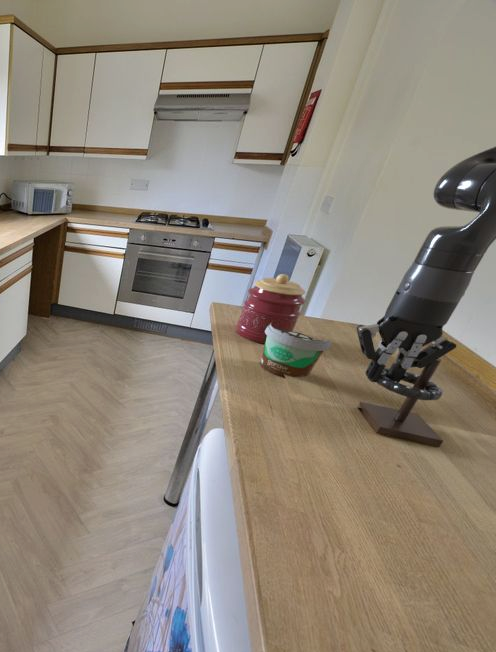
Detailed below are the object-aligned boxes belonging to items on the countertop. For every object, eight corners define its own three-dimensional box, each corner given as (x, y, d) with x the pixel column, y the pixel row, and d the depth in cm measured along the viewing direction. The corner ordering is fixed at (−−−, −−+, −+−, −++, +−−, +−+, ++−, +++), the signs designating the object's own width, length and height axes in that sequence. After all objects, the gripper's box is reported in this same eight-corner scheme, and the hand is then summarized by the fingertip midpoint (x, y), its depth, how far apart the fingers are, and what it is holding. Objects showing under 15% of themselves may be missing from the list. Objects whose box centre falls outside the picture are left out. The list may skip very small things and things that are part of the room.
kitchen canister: (263, 348, 106) (288, 282, 98) (224, 328, 117) (243, 268, 109) (300, 343, 110) (327, 280, 102) (259, 324, 121) (280, 266, 113)
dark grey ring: (422, 382, 77) (427, 374, 76) (450, 407, 69) (456, 398, 68) (362, 370, 80) (367, 362, 79) (383, 393, 72) (388, 384, 71)
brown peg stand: (413, 419, 79) (454, 353, 73) (439, 447, 72) (487, 376, 66) (357, 407, 82) (391, 343, 76) (376, 433, 75) (416, 364, 68)
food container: (246, 367, 96) (261, 328, 92) (254, 359, 100) (268, 321, 96) (309, 389, 88) (328, 347, 84) (315, 379, 92) (333, 339, 88)
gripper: (468, 293, 69) (416, 381, 76) (368, 280, 73) (328, 364, 81) (499, 307, 62) (438, 401, 70) (387, 292, 67) (341, 382, 74)
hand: (379, 381), depth 75 cm, fingers closed on dark grey ring, 2 cm apart
